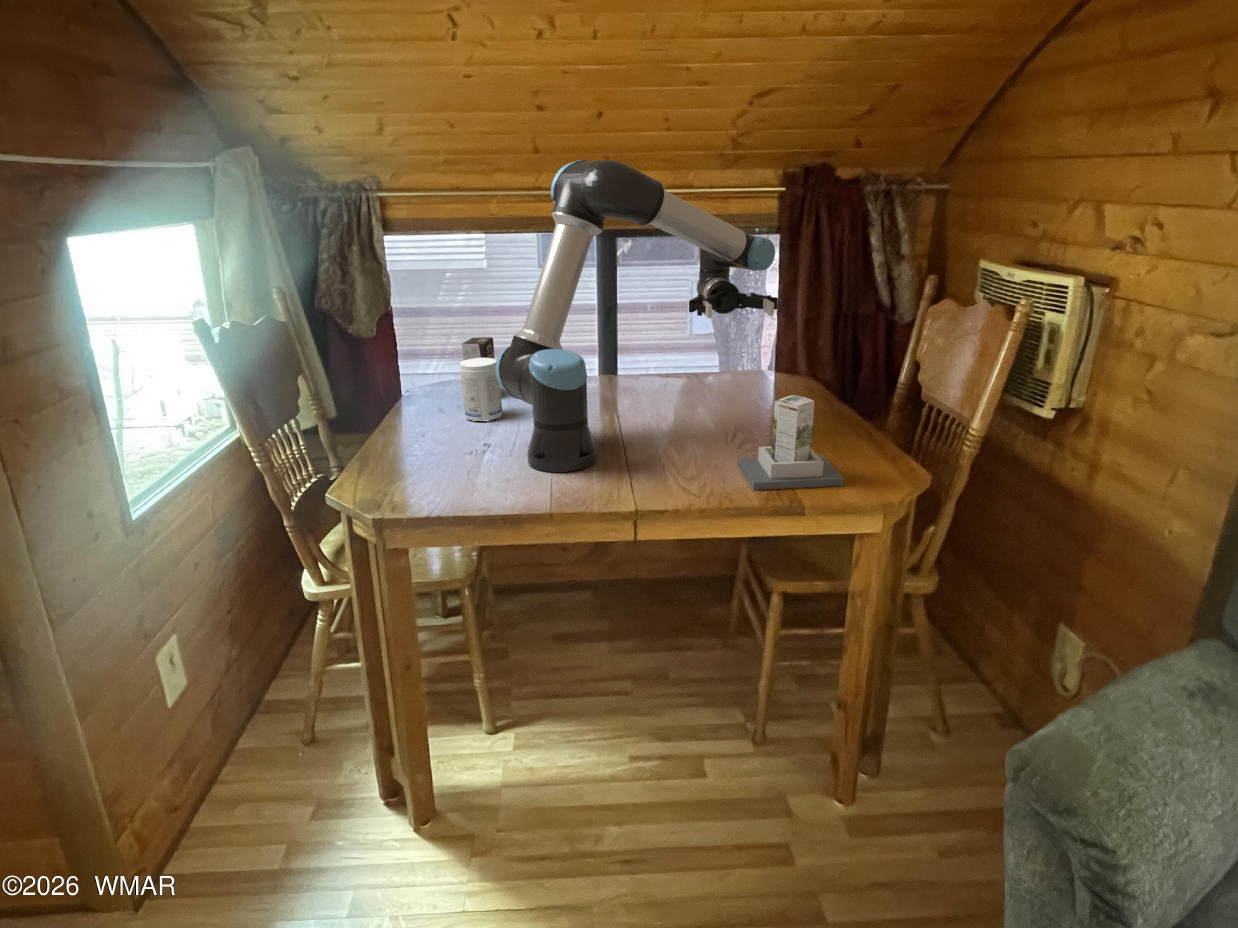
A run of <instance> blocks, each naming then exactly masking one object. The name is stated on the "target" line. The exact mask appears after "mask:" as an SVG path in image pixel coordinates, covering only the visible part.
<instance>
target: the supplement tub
mask: <svg viewBox="0 0 1238 928" xmlns="http://www.w3.org/2000/svg"><path fill="white" fill-rule="evenodd" d="M496 362H497V359H492V358H474V359H468V360H465V361H463V360H462V361H461V362H460V363H459V367H460V368H459V371H460V380H461V390H462V399H463V401H462V402H463V407H464V408H463V409H464V417H465V418H466V419H467V420H468V419H469V420H468V421H470V420H474V421H483V420H492V421H494V420H493V419H496V420H498V419H499V417H500V418H501V417H502V415H503V405H502V404H503V403H502V394H501V386H500V384H499V383H498V380H497V378H496V372H495V367H496ZM497 418H498V419H497ZM474 421H473V422H474Z"/></svg>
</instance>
